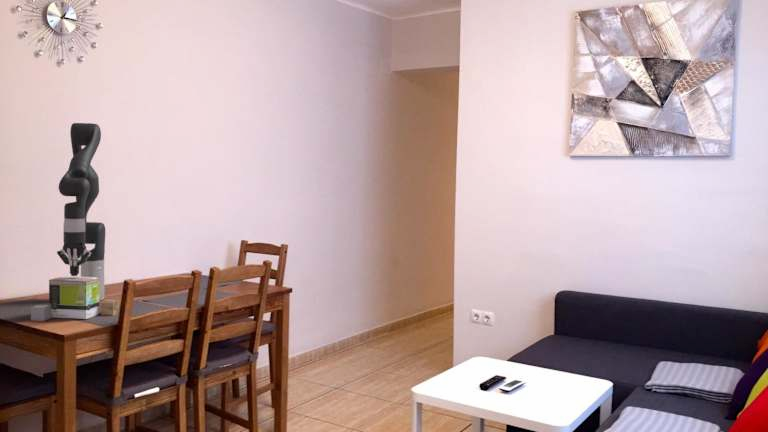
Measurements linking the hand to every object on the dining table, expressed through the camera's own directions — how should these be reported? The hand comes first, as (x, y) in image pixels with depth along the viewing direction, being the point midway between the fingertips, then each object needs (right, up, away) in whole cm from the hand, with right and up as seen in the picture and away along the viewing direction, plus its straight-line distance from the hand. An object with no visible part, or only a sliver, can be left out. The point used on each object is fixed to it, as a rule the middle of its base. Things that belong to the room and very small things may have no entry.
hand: (74, 275), depth 249 cm
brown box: (+11, -16, +7) cm, 20 cm away
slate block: (-10, -16, -5) cm, 19 cm away
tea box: (-1, -16, +1) cm, 16 cm away
